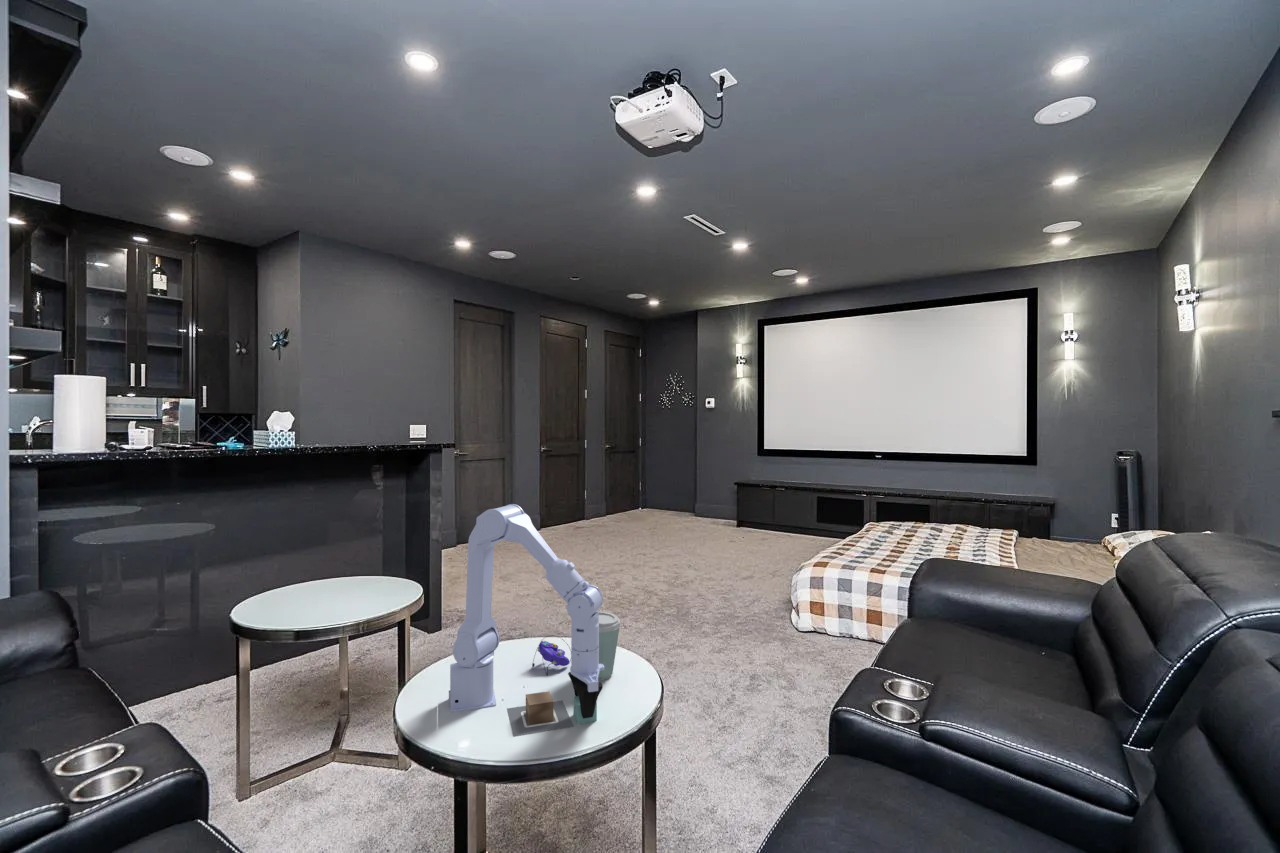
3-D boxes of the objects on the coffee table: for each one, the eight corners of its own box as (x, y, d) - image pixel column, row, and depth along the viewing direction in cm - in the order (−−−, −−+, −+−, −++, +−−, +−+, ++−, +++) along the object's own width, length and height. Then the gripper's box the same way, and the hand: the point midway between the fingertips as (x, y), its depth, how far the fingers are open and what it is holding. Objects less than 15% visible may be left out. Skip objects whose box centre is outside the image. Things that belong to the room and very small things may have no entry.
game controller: (583, 650, 150) (556, 654, 142) (571, 680, 150) (544, 685, 142) (558, 630, 156) (531, 633, 148) (547, 659, 156) (519, 663, 148)
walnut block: (528, 724, 119) (529, 705, 119) (525, 713, 124) (525, 694, 124) (553, 721, 121) (553, 701, 121) (549, 709, 125) (549, 691, 125)
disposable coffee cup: (614, 665, 149) (614, 606, 149) (626, 683, 139) (626, 619, 139) (573, 670, 146) (573, 610, 146) (582, 689, 136) (582, 624, 136)
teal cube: (577, 724, 120) (577, 705, 120) (573, 715, 123) (573, 696, 123) (596, 721, 121) (596, 702, 121) (592, 712, 125) (592, 694, 125)
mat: (513, 737, 114) (513, 736, 114) (507, 709, 126) (507, 708, 126) (573, 728, 118) (573, 726, 118) (562, 701, 130) (562, 699, 130)
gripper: (613, 657, 117) (613, 725, 117) (595, 632, 130) (595, 694, 130) (578, 661, 114) (578, 731, 114) (563, 636, 128) (563, 698, 128)
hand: (585, 711), depth 122 cm, fingers closed on teal cube, 4 cm apart
